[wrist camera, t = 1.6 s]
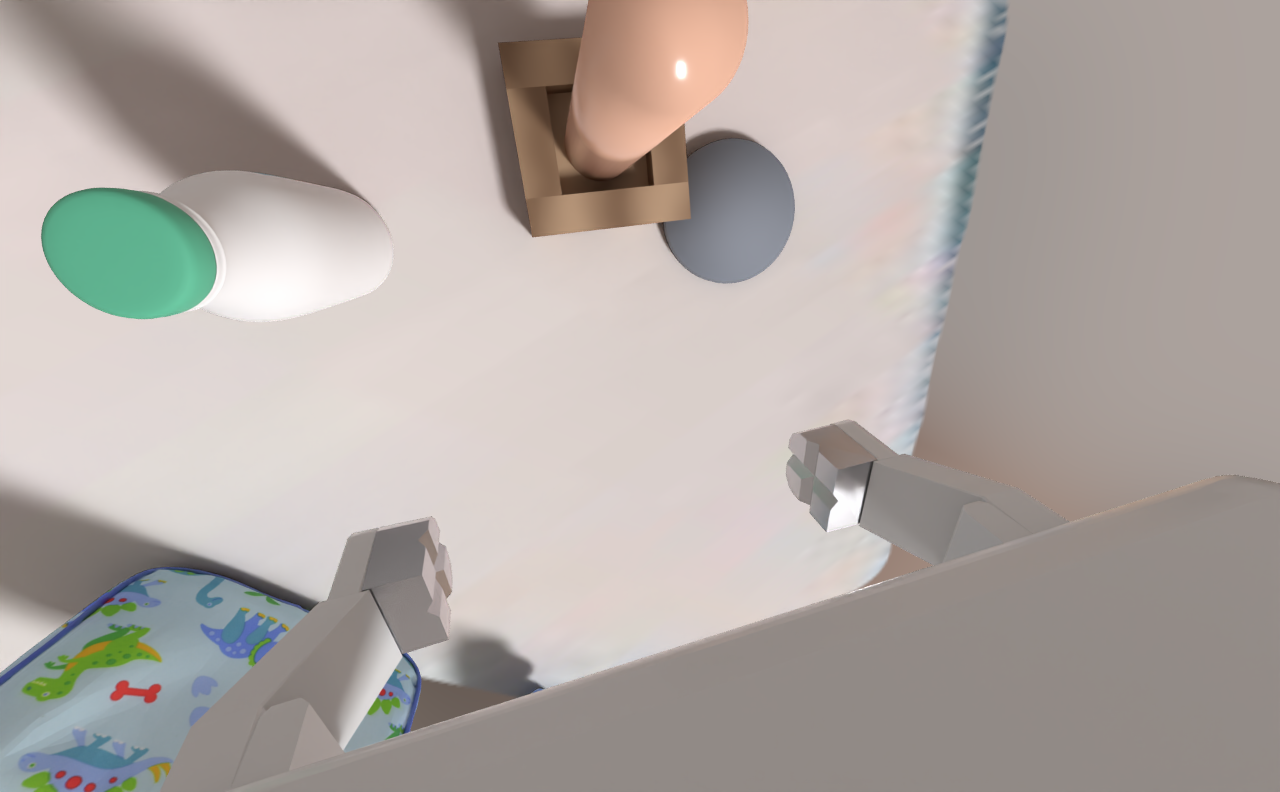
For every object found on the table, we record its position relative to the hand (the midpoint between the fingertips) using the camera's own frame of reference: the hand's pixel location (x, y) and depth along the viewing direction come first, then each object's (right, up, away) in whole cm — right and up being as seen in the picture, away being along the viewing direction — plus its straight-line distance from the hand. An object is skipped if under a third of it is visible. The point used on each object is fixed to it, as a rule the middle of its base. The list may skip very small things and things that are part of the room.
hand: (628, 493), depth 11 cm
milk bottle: (-22, +13, +25) cm, 36 cm away
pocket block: (-3, +21, +26) cm, 34 cm away
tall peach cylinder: (-3, +21, +25) cm, 33 cm away
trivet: (+7, +17, +29) cm, 35 cm away
